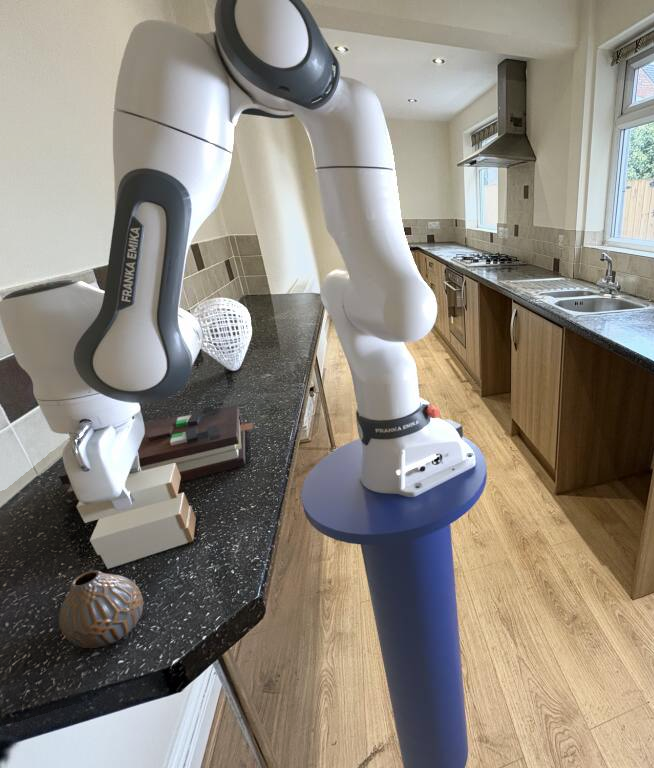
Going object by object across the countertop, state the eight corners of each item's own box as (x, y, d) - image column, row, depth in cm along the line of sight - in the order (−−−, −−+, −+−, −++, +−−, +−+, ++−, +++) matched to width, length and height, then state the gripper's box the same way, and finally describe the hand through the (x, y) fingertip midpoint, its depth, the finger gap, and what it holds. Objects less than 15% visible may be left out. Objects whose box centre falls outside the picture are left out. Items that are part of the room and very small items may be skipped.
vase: (80, 626, 51) (48, 573, 47) (151, 596, 54) (127, 546, 51) (69, 671, 46) (33, 616, 42) (149, 635, 49) (122, 582, 46)
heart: (264, 379, 126) (245, 307, 117) (203, 390, 118) (178, 314, 109) (260, 354, 147) (244, 292, 139) (208, 362, 140) (188, 297, 131)
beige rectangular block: (196, 518, 68) (185, 491, 66) (193, 541, 64) (182, 513, 61) (114, 543, 63) (100, 514, 61) (105, 570, 58) (89, 540, 56)
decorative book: (72, 430, 81) (248, 397, 95) (88, 462, 84) (256, 425, 98) (33, 480, 66) (249, 432, 80) (54, 518, 69) (259, 464, 83)
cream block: (181, 477, 65) (175, 462, 64) (177, 497, 60) (171, 482, 59) (95, 499, 60) (88, 483, 59) (84, 523, 55) (75, 506, 54)
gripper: (106, 433, 48) (146, 526, 53) (137, 378, 64) (166, 454, 69) (29, 448, 45) (80, 545, 50) (82, 386, 61) (117, 465, 66)
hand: (130, 492), depth 60 cm, fingers closed on cream block, 6 cm apart
